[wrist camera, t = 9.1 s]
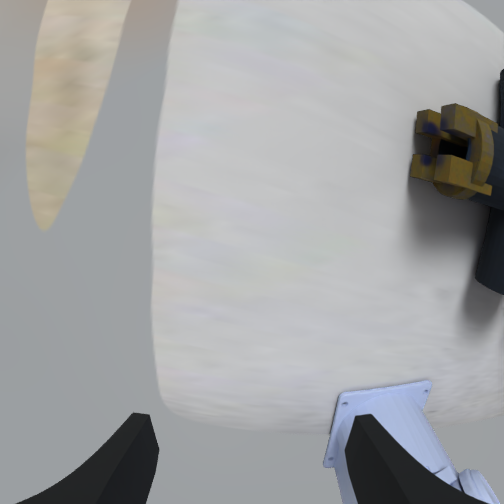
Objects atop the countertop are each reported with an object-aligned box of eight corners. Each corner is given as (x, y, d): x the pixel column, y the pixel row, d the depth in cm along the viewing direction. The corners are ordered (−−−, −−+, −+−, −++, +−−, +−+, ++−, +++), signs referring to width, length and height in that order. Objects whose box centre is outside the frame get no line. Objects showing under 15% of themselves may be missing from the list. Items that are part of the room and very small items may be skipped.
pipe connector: (430, 295, 14) (459, 10, 10) (388, 262, 19) (415, 38, 15) (544, 302, 14) (571, 93, 10) (501, 277, 19) (525, 97, 15)
